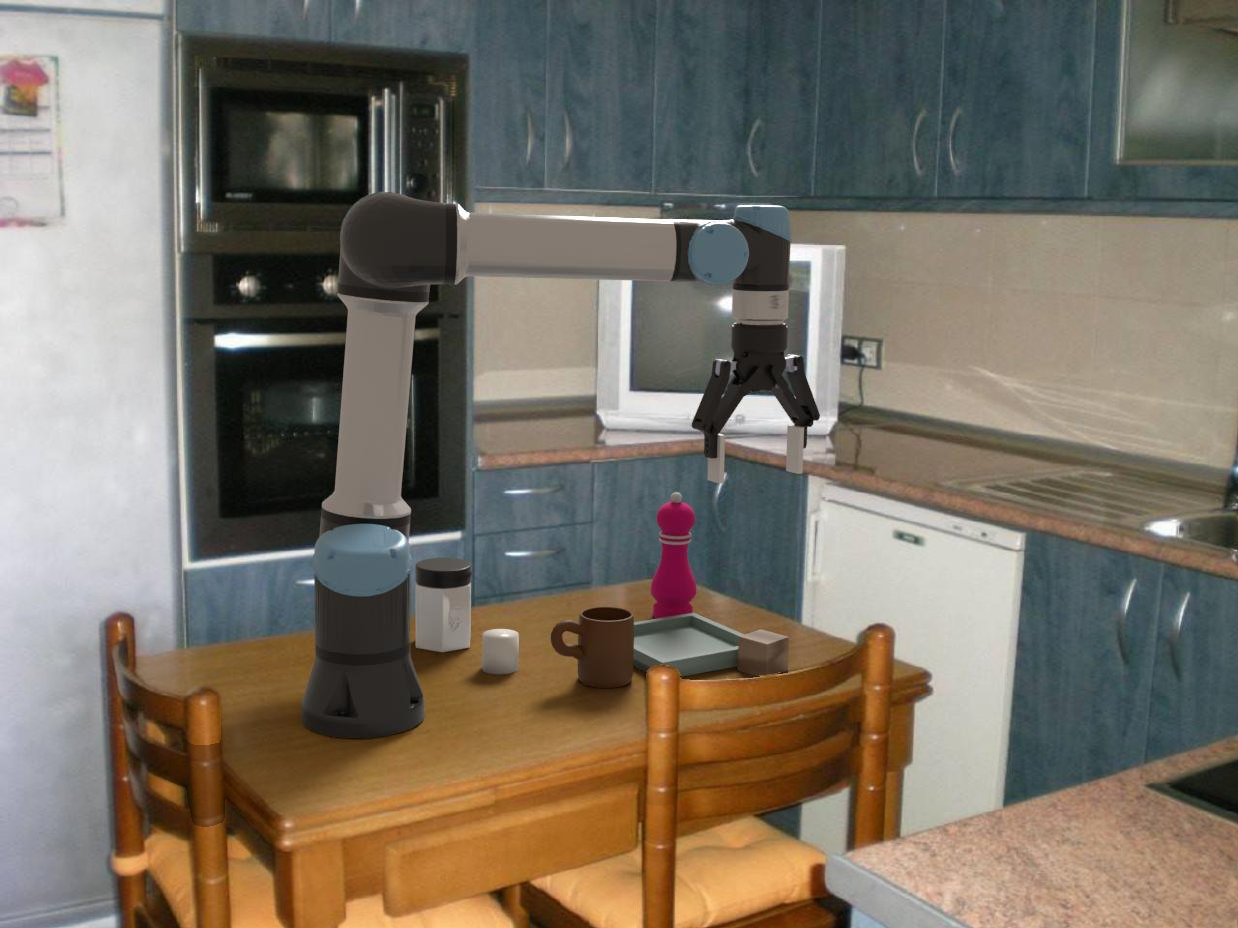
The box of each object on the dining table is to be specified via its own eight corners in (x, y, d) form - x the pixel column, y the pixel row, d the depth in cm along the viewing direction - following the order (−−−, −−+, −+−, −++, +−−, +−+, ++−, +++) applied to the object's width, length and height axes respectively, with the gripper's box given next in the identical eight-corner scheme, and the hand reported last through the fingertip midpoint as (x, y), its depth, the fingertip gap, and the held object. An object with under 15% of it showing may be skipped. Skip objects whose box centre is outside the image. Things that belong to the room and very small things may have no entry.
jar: (428, 655, 205) (429, 574, 203) (403, 641, 211) (403, 561, 209) (484, 646, 210) (484, 566, 208) (457, 632, 216) (457, 554, 214)
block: (765, 678, 199) (767, 644, 198) (737, 670, 202) (738, 636, 201) (787, 671, 202) (789, 636, 201) (759, 662, 206) (760, 629, 205)
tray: (662, 680, 197) (662, 662, 196) (593, 644, 212) (593, 628, 211) (765, 660, 206) (766, 643, 206) (693, 628, 221) (693, 612, 221)
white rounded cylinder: (492, 676, 197) (492, 641, 196) (475, 666, 201) (476, 631, 200) (524, 671, 199) (525, 636, 198) (507, 661, 203) (508, 626, 203)
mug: (562, 696, 189) (563, 628, 188) (538, 679, 196) (539, 612, 194) (642, 685, 195) (644, 617, 193) (617, 668, 201) (618, 603, 200)
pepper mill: (657, 607, 232) (661, 486, 228) (700, 612, 230) (705, 490, 226) (644, 619, 225) (647, 494, 222) (688, 624, 223) (693, 498, 219)
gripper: (700, 327, 184) (697, 490, 187) (848, 320, 197) (843, 472, 201) (667, 323, 190) (665, 480, 194) (813, 316, 203) (808, 464, 207)
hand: (755, 477), depth 197 cm, fingers open, 13 cm apart
